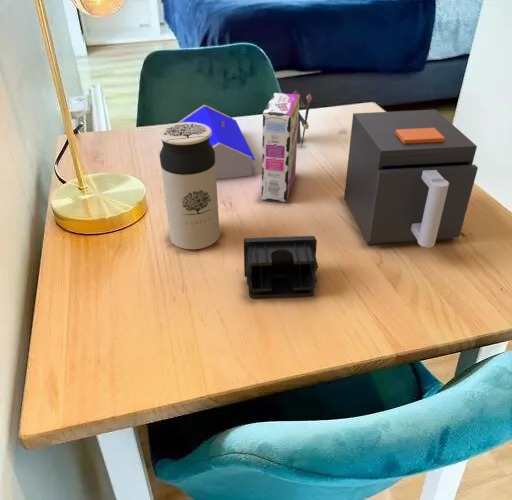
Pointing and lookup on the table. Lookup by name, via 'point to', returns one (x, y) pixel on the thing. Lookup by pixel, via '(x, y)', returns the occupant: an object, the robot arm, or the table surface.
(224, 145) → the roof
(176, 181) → the travel mug
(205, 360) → the table surface
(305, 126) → the wizard figurine
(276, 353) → the table surface
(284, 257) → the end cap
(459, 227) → the basket
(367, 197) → the fryer housing
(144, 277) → the table surface
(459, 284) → the table surface
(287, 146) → the candy bar box
